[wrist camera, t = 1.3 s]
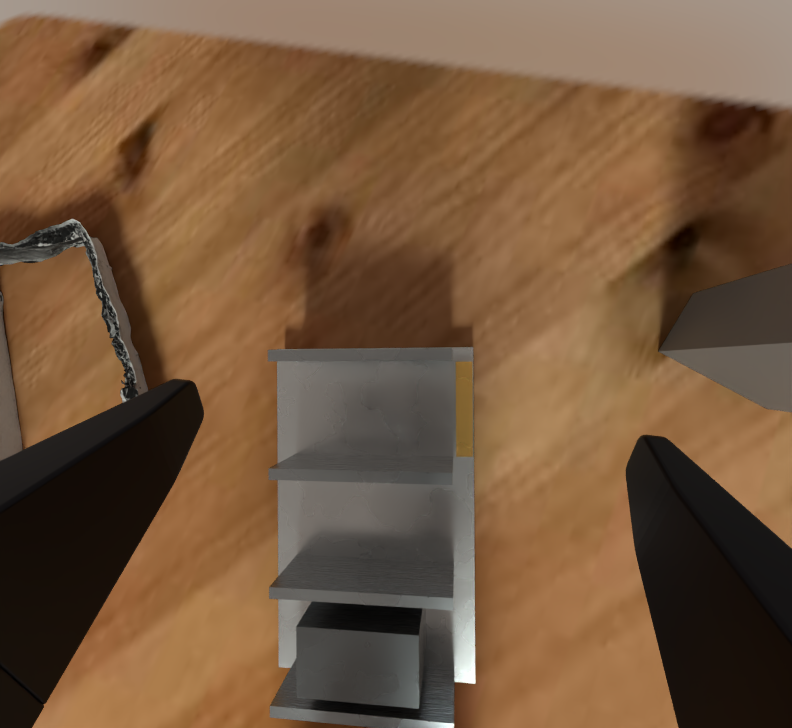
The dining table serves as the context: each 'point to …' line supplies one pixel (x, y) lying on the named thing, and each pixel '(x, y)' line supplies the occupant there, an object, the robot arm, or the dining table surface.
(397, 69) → the dining table surface
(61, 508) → the robot arm
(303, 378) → the rack
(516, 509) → the dining table surface
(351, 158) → the dining table surface
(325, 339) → the dining table surface
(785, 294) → the block
